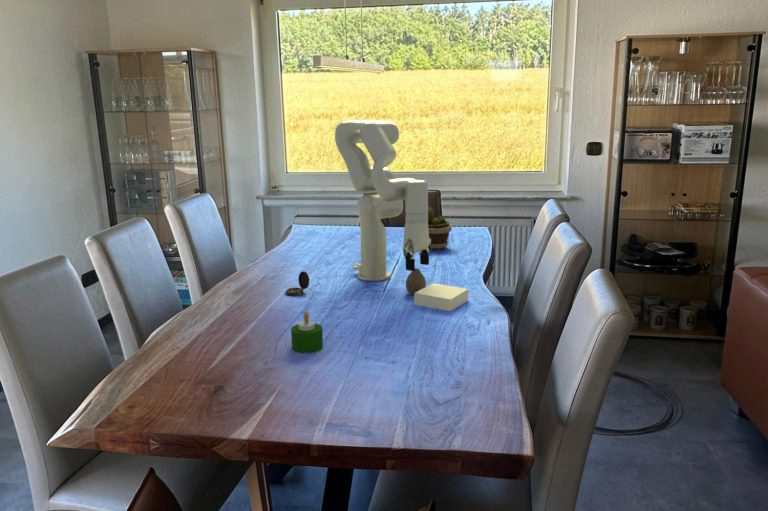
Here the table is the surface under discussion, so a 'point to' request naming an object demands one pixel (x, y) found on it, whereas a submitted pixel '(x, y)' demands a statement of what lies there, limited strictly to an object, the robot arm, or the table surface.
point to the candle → (306, 336)
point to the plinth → (441, 297)
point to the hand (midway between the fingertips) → (417, 267)
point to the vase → (415, 281)
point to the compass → (303, 284)
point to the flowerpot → (438, 231)
